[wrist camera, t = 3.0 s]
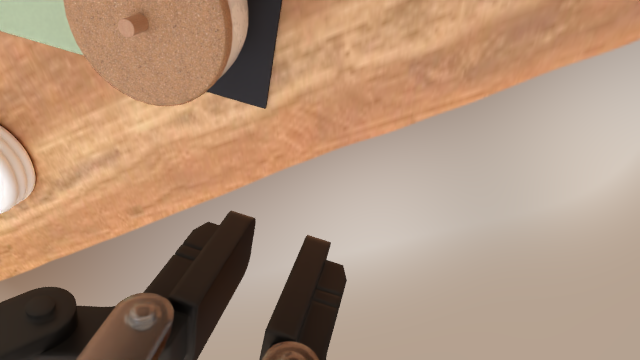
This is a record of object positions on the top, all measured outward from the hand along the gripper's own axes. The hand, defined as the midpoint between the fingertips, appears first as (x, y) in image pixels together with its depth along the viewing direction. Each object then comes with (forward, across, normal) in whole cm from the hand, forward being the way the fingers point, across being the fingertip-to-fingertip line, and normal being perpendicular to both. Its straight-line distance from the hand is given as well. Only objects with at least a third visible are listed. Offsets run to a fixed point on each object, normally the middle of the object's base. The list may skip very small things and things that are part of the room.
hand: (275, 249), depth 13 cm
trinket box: (+23, +14, 0) cm, 27 cm away
